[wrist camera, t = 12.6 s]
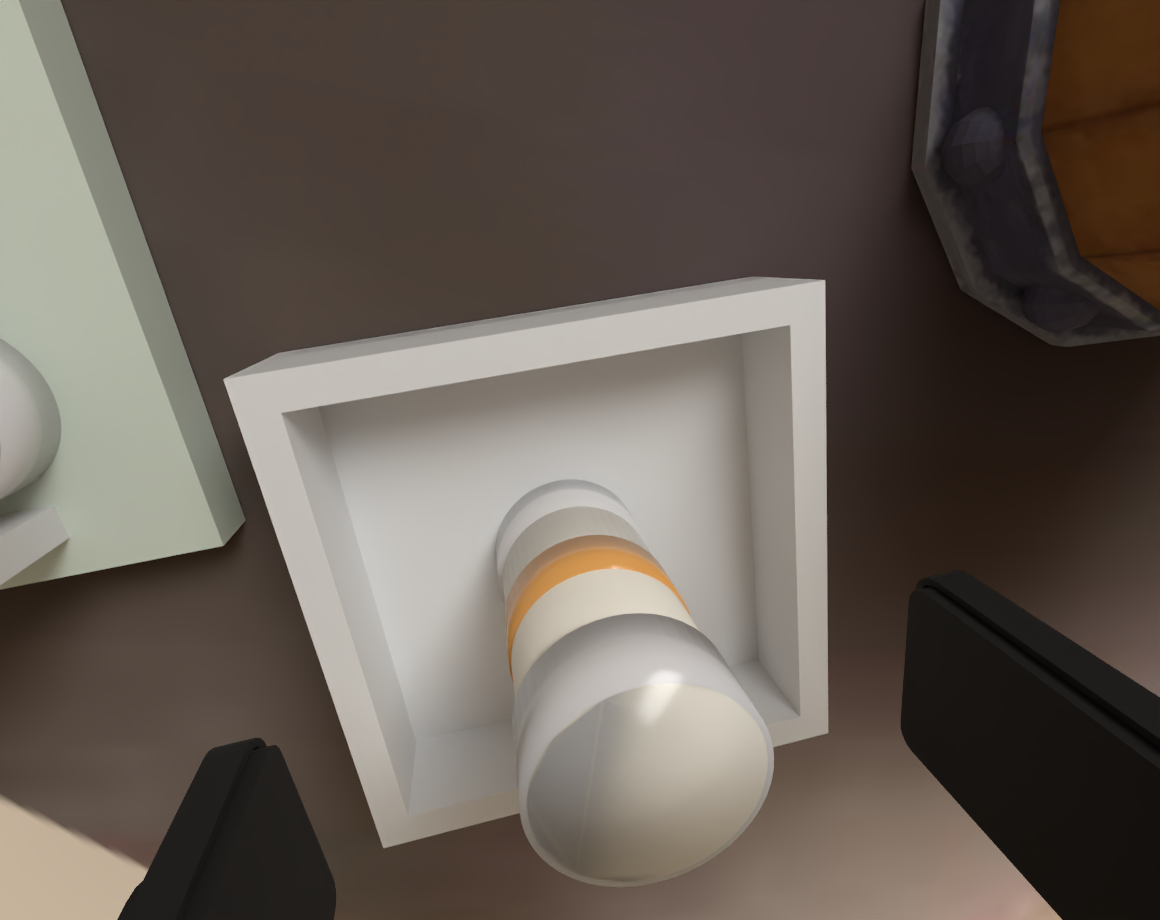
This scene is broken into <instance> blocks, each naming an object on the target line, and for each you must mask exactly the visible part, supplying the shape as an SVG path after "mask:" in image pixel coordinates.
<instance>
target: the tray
mask: <svg viewBox="0 0 1160 920" xmlns="http://www.w3.org/2000/svg"><path fill="white" fill-rule="evenodd" d="M223 380H224V383H225V386H226V389H227V391H228V394H229V397H230V400H231V403H232V406H233V409H234V412H235V415H236V418H237V421H238V424H239V427H240V430H241V433H242V435H243V438H244V441H245V444H246V447H247V450H248V453H249V456H250V459H251V462H252V465H253V468H254V471H255V474H256V476H257V479H258V482H259V485H260V488H261V491H262V494H263V497H264V500H265V503H266V506H267V509H268V512H269V515H270V518H271V520H272V523H273V526H274V529H275V532H276V535H277V538H278V541H279V544H280V547H281V550H282V553H283V556H284V559H285V561H286V564H287V567H288V570H289V573H290V576H291V579H292V582H293V585H294V588H295V591H296V594H297V597H298V600H299V603H300V605H301V608H302V611H303V614H304V617H305V620H306V623H307V626H308V629H309V632H310V635H311V638H312V641H313V644H314V646H315V649H316V652H317V655H318V658H319V661H320V664H321V667H322V670H323V673H324V676H325V679H326V682H327V685H328V688H329V690H330V693H331V696H332V699H333V702H334V705H335V708H336V711H337V714H338V717H339V720H340V723H341V726H342V729H343V731H344V734H345V737H346V740H347V743H348V746H349V749H350V752H351V755H352V758H353V761H354V764H355V767H356V770H357V773H358V775H359V778H360V781H361V784H362V787H363V790H364V793H365V796H366V799H367V802H368V805H369V808H370V811H371V814H372V816H373V819H374V822H375V825H376V828H377V831H378V834H379V837H380V840H381V843H382V846H383V848H387V847H390V846H394V845H398V844H402V843H406V842H410V841H414V840H418V839H421V838H425V837H429V836H433V835H437V834H441V833H445V832H448V831H452V830H456V829H460V828H464V827H468V826H472V825H475V824H479V823H483V822H487V821H491V820H495V819H499V818H502V817H506V816H510V815H514V814H518V813H520V810H519V799H518V788H517V777H516V766H515V756H514V745H513V734H512V712H513V707H514V701H515V693H514V684H513V681H512V678H511V675H510V669H509V661H508V651H507V641H506V631H505V605H504V603H503V601H502V597H501V594H500V589H499V582H498V571H497V560H496V540H497V534H498V531H499V528H500V525H501V523H502V521H503V519H504V517H505V516H506V514H507V512H508V511H509V510H510V508H511V507H512V506H513V505H514V504H515V503H516V502H517V501H518V500H519V499H520V498H521V497H522V496H524V495H525V494H527V493H528V492H529V491H531V490H533V489H535V488H537V487H539V486H541V485H544V484H546V483H550V482H554V481H559V480H574V479H575V480H584V481H588V482H592V483H595V484H598V485H600V486H602V487H604V488H606V489H608V490H609V491H611V492H612V493H613V494H615V495H616V496H617V497H618V498H619V499H620V500H621V501H622V502H623V503H624V505H625V506H626V508H627V509H628V511H629V512H630V514H631V515H632V517H633V518H634V520H635V521H636V523H637V525H638V526H639V528H640V529H641V531H642V532H643V534H644V536H645V538H646V540H647V542H648V544H649V547H650V550H651V554H652V556H653V557H654V558H655V559H656V560H657V561H658V562H659V564H660V565H661V566H662V568H663V569H664V571H665V572H666V574H667V576H668V577H669V579H670V580H671V582H672V583H673V585H674V587H675V588H676V590H677V591H678V593H679V595H680V596H681V598H682V599H683V601H684V603H685V605H686V606H687V608H688V610H689V613H690V616H691V618H692V620H693V622H694V623H695V625H696V626H697V628H698V630H699V631H700V632H701V633H702V634H704V635H705V636H706V637H707V638H708V639H709V640H710V641H711V642H712V643H713V644H714V645H715V647H716V648H717V649H718V651H719V652H720V654H721V655H722V657H723V658H724V660H725V661H726V663H727V665H728V666H729V668H730V669H731V671H732V672H733V674H734V675H735V677H736V679H737V680H738V682H739V683H740V685H741V686H742V688H743V689H744V691H745V693H746V694H747V696H748V697H749V699H750V700H751V702H752V703H753V705H754V707H755V708H756V710H757V711H758V713H759V714H760V716H761V717H762V719H763V721H764V723H765V725H766V727H767V729H768V731H769V734H770V737H771V740H772V743H773V747H776V746H780V745H784V744H788V743H792V742H796V741H800V740H803V739H807V738H811V737H815V736H819V735H823V734H827V733H828V616H827V469H826V321H825V280H812V279H791V278H771V277H746V278H740V279H734V280H728V281H721V282H715V283H709V284H703V285H697V286H690V287H684V288H678V289H672V290H666V291H660V292H653V293H647V294H641V295H635V296H629V297H622V298H616V299H610V300H604V301H598V302H591V303H585V304H579V305H573V306H567V307H560V308H554V309H548V310H542V311H536V312H529V313H523V314H517V315H511V316H505V317H498V318H492V319H486V320H480V321H474V322H468V323H461V324H455V325H449V326H443V327H437V328H430V329H424V330H418V331H412V332H406V333H399V334H393V335H387V336H381V337H375V338H368V339H362V340H356V341H350V342H344V343H337V344H331V345H325V346H319V347H313V348H306V349H300V350H294V351H288V352H282V353H278V354H276V355H274V356H271V357H269V358H267V359H265V360H263V361H261V362H259V363H257V364H254V365H252V366H250V367H248V368H246V369H244V370H242V371H240V372H238V373H235V374H233V375H231V376H229V377H227V378H225V379H223Z"/></svg>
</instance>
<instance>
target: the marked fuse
mask: <svg viewBox="0 0 1160 920" xmlns="http://www.w3.org/2000/svg"><path fill="white" fill-rule="evenodd" d="M496 560H497V571H498V582H499V589H500V594H501V597H502V601H503V603H504V605H505V631H506V641H507V651H508V661H509V669H510V675H511V678H512V681H513V684H514V693H515V701H514V707H513V712H512V734H513V745H514V756H515V766H516V777H517V788H518V799H519V810H520V817H521V823H522V826H523V829H524V832H525V835H526V837H527V839H528V841H529V842H530V844H531V846H532V847H533V849H534V850H535V851H536V852H537V854H538V855H539V856H540V857H541V858H542V859H543V860H544V861H545V862H546V863H547V864H548V865H550V866H551V867H553V868H554V869H556V870H557V871H559V872H560V873H562V874H564V875H566V876H568V877H570V878H573V879H575V880H578V881H581V882H585V883H588V884H593V885H599V886H608V887H634V886H641V885H648V884H653V883H657V882H661V881H665V880H668V879H671V878H674V877H677V876H680V875H682V874H684V873H687V872H689V871H691V870H694V869H695V868H697V867H699V866H701V865H703V864H704V863H706V862H708V861H709V860H711V859H712V858H714V857H715V856H717V855H718V854H720V853H721V852H722V851H724V850H725V849H726V848H727V847H728V846H730V845H731V844H732V843H733V842H734V841H735V840H736V839H737V838H738V837H739V836H740V835H741V834H742V833H743V832H744V831H745V830H746V828H747V827H748V826H749V825H750V823H751V822H752V821H753V820H754V818H755V816H756V815H757V813H758V812H759V810H760V809H761V807H762V805H763V802H764V800H765V798H766V796H767V794H768V791H769V788H770V785H771V781H772V776H773V770H774V751H773V743H772V740H771V737H770V734H769V731H768V729H767V727H766V725H765V723H764V721H763V719H762V717H761V716H760V714H759V713H758V711H757V710H756V708H755V707H754V705H753V703H752V702H751V700H750V699H749V697H748V696H747V694H746V693H745V691H744V689H743V688H742V686H741V685H740V683H739V682H738V680H737V679H736V677H735V675H734V674H733V672H732V671H731V669H730V668H729V666H728V665H727V663H726V661H725V660H724V658H723V657H722V655H721V654H720V652H719V651H718V649H717V648H716V647H715V645H714V644H713V643H712V642H711V641H710V640H709V639H708V638H707V637H706V636H705V635H704V634H702V633H701V632H700V631H699V630H698V628H697V626H696V625H695V623H694V622H693V620H692V618H691V616H690V613H689V610H688V608H687V606H686V605H685V603H684V601H683V599H682V598H681V596H680V595H679V593H678V591H677V590H676V588H675V587H674V585H673V583H672V582H671V580H670V579H669V577H668V576H667V574H666V572H665V571H664V569H663V568H662V566H661V565H660V564H659V562H658V561H657V560H656V559H655V558H654V557H653V556H652V554H651V550H650V547H649V544H648V542H647V540H646V538H645V536H644V534H643V532H642V531H641V529H640V528H639V526H638V525H637V523H636V521H635V520H634V518H633V517H632V515H631V514H630V512H629V511H628V509H627V508H626V506H625V505H624V503H623V502H622V501H621V500H620V499H619V498H618V497H617V496H616V495H615V494H613V493H612V492H611V491H609V490H608V489H606V488H604V487H602V486H600V485H598V484H595V483H592V482H588V481H584V480H575V479H574V480H559V481H554V482H550V483H546V484H544V485H541V486H539V487H537V488H535V489H533V490H531V491H529V492H528V493H527V494H525V495H524V496H522V497H521V498H520V499H519V500H518V501H517V502H516V503H515V504H514V505H513V506H512V507H511V508H510V510H509V511H508V512H507V514H506V516H505V517H504V519H503V521H502V523H501V525H500V528H499V531H498V534H497V540H496Z"/></svg>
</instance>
